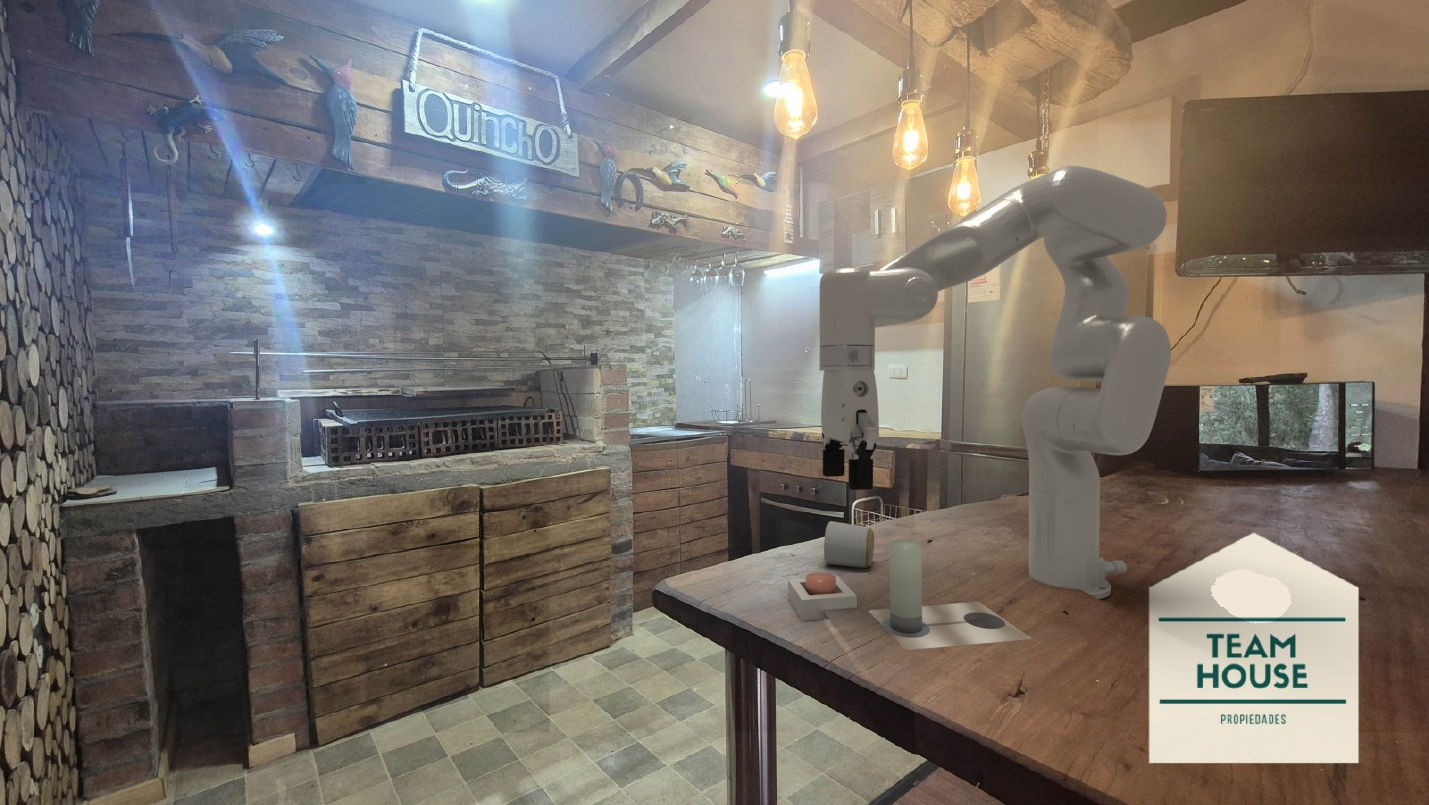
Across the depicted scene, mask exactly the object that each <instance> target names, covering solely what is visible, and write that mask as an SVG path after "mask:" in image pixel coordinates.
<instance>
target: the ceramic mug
mask: <svg viewBox="0 0 1429 805" xmlns="http://www.w3.org/2000/svg"><path fill="white" fill-rule="evenodd" d="M874 549H875V533H874V530H873V529H872V528H870V527H868V526H863V525H857V524H850V523H845V522H837V521H832V520H831V521H828V523H827V525H826V528H825V534H824V543H823V556H824V557H823V558H824V562H825V564H826V565H834V566H842V567H852V568H862V569H863V568H865V569H866V568H870V567H871V566H872V564H873V558H874V552H875V551H874Z"/></svg>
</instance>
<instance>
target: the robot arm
mask: <svg viewBox="0 0 1429 805" xmlns="http://www.w3.org/2000/svg"><path fill="white" fill-rule="evenodd" d="M1167 213H1168V212H1167V209H1166V206H1165V203H1164V202H1163V200H1162V198H1161V197H1160V196H1159V195H1158V194H1157V193H1156V192H1154V191H1153V190H1152V189H1150V188H1148V187H1146V186H1144V185H1142V184H1139V183H1136V182H1133V181H1130V180H1128V179H1124V178H1122V177H1119V176H1116V175H1113V174H1110V173H1108V172H1104V171H1101V170H1098V169H1094V168H1092V167H1091V168H1090V167H1085V166H1079V165H1069V166H1068V165H1067V166H1063V167H1060V168H1058V169H1054V170H1052V171H1050V172H1047V173H1045V174H1043V175H1040V176H1037V177H1035V178H1033V179H1030V180H1028V181H1026V182H1023V183H1022V184H1021V183H1020V184H1018V185H1017V186H1014V187H1013V188H1011V189H1010V190H1008V191H1006V192H1005V193H1003V194H1002V195H1000V196H998V197H997V198H995V199H994V200H991V201H990V202H989V203H987V204H986V205H984V206H982V207H981V208H980V209H978V210H976V211H975V212H974V213H971V214H970V215H968V216H967V217H965V218H963V219H961V220H960V221H959V222H956V224H955V223H954V225H952V226H951V227H948V228H947V229H944V230H943V231H941V232H940V233H938V234H936V235H935V236H933V237H931V238H930V239H928V240H927V241H925V242H924V243H922V244H920V245H919V246H917V247H915V248H913V249H911V250H910V251H907V252H906V253H905V254H902V255H901V256H899V257H898V258H896V259H894V260H893V261H891V262H889V263H887V264H885V265H884V266H882V267H881V268H879V269H875V270H870V269H867V268H861V267H860V268H859V267H843V268H834V269H830V270H828V271H826V272H825V273H823V274H822V276H821V277H820V281H819V356H818V357H819V358H818V359H819V360H818V361H819V364H818V365H819V367H818V368H819V371H823V376H822V377H823V378H822V389H821V403H820V404H821V405H820V406H821V409H820V410H821V412H820V420H821V421H820V423H821V437H822V439H823V440H822V443H821V447H822V476H823V477H826V478H827V477H828V478H831V477H833V478H834V477H843V476H845V456H846V455H845V448H843V446H844V444H847V447H848V450H849V454H850V456H851V458H848V476H847V477H848V478H847V479H848V486H847V487H848V489H850V490H851V491H858V490H860V491H861V490H862V491H864V490H872V489H873V488H874V460H875V456H876V455H875V450H876V448H877V443H876V442H878V439H879V437H880V424H879V423H880V422H879V420H880V419H879V400H878V399H879V398H878V388H877V381H876V375H875V374H876V373H875V370H876V365H875V364H876V328H880V327H881V328H882V327H887V326H891V325H893V326H895V325H896V326H897V325H901V324H908V323H913V322H916V321H919V320H921V319H923V318H924V317H926V316H928V315H929V314H930V313H931V312H932V311H933V309H934V308H935V306H936V304H937V301H938V298H939V292H942V291H943V290H946V289H949V288H952V287H956V286H959V285H962V284H965V283H968V282H970V281H973V280H975V279H977V278H979V277H981V276H983V275H986V274H987V273H989V272H991V271H992V270H993V269H996V268H997V267H998V266H1000V265H1002V263H1004V262H1007V260H1008V259H1010V258H1012V257H1013V256H1014V255H1016V254H1017V253H1019V252H1020V251H1022V250H1023V249H1025V248H1027V247H1029V246H1030V245H1032V244H1034V243H1035V242H1036V241H1038V240H1041V239H1042V238H1043V244H1044V248H1045V250H1046V253H1047V255H1048V256H1049V258H1050V259H1051V261H1052V262H1053V264H1054V265H1055V266H1056V268H1057V270H1058V272H1059V274H1060V276H1061V277H1062V280H1063V283H1064V298H1063V302H1062V307H1061V311H1060V314H1059V319H1058V322H1057V324H1056V328H1055V332H1054V336H1053V340H1052V344H1051V347H1050V352H1049V365H1050V369H1051V370H1052V372H1053V373H1054V374H1055V375H1057V376H1058V377H1059V378H1062V379H1064V380H1065V379H1066V380H1068V381H1069V380H1070V381H1075V382H1076V381H1077V382H1101V387H1100V388H1099V387H1084V386H1083V387H1081V386H1080V387H1078V386H1077V387H1075V386H1054V387H1048V388H1044V389H1041V390H1039V391H1037V392H1034V393H1033V394H1032V395H1031V396H1029V398H1028V400H1027V401H1026V402H1025V404H1024V407H1023V410H1022V413H1021V414H1022V415H1021V420H1022V429H1023V434H1024V437H1025V442H1026V447H1027V456H1028V473H1029V475H1028V477H1029V478H1028V479H1029V480H1028V482H1029V483H1028V575H1029V576H1030V578H1031V579H1034V580H1035V581H1037V582H1040V583H1042V584H1045V585H1048V586H1052V587H1056V588H1061V589H1068V590H1080V591H1082V592H1084V593H1086V594H1088V595H1089V596H1092V597H1093V598H1096V599H1098V600H1101V599H1105V598H1107V597H1108V596H1110V594H1112V592H1111V591H1112V586H1111V584H1110V582H1109V581H1108V580H1107V579H1106V577H1109V575H1110V574H1114V575H1115V574H1125V573H1127V571H1128V567H1127V564H1126V563H1125V561H1123V560H1111V561H1106V560H1105V558H1104V557H1100V510H1101V509H1100V505H1101V503H1100V502H1101V501H1100V499H1101V498H1100V496H1101V494H1100V493H1101V479H1100V473H1099V469H1098V466H1097V464H1096V462H1095V460H1094V457H1093V455H1092V454H1091V453H1095V454H1103V455H1111V456H1125V455H1130V454H1133V453H1135V452H1137V451H1138V450H1140V449H1141V448H1142V447H1143V446H1144V445H1145V444H1146V442H1147V440H1148V439H1149V437H1150V434H1151V432H1152V430H1153V427H1154V423H1155V420H1156V418H1157V413H1158V410H1159V405H1160V402H1161V399H1162V394H1163V392H1164V387H1165V383H1166V381H1167V375H1168V372H1169V369H1170V368H1169V367H1170V364H1171V360H1172V359H1171V358H1172V346H1171V341H1170V337H1169V335H1168V331H1167V330H1166V329H1165V327H1164V326H1163V325H1162V324H1161V323H1160V322H1159V321H1157V319H1154V318H1152V317H1148V316H1144V315H1126V312H1127V308H1128V303H1129V296H1130V288H1129V285H1128V282H1127V280H1126V278H1125V276H1124V275H1123V274H1122V272H1121V271H1120V270H1119V268H1118V266H1116V265H1115V263H1114V262H1113V261H1112V260H1111V258H1110V257H1109V256H1114V255H1118V254H1122V253H1123V254H1124V253H1128V252H1133V251H1137V250H1139V249H1142V248H1145V247H1147V246H1148V245H1151V244H1153V242H1155V241H1156V240H1157V239H1158V238H1159V237H1160V236H1161V234H1162V233H1163V231H1164V230H1165V227H1166V225H1167V216H1168V215H1167ZM857 445H858V447H857Z"/></svg>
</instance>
